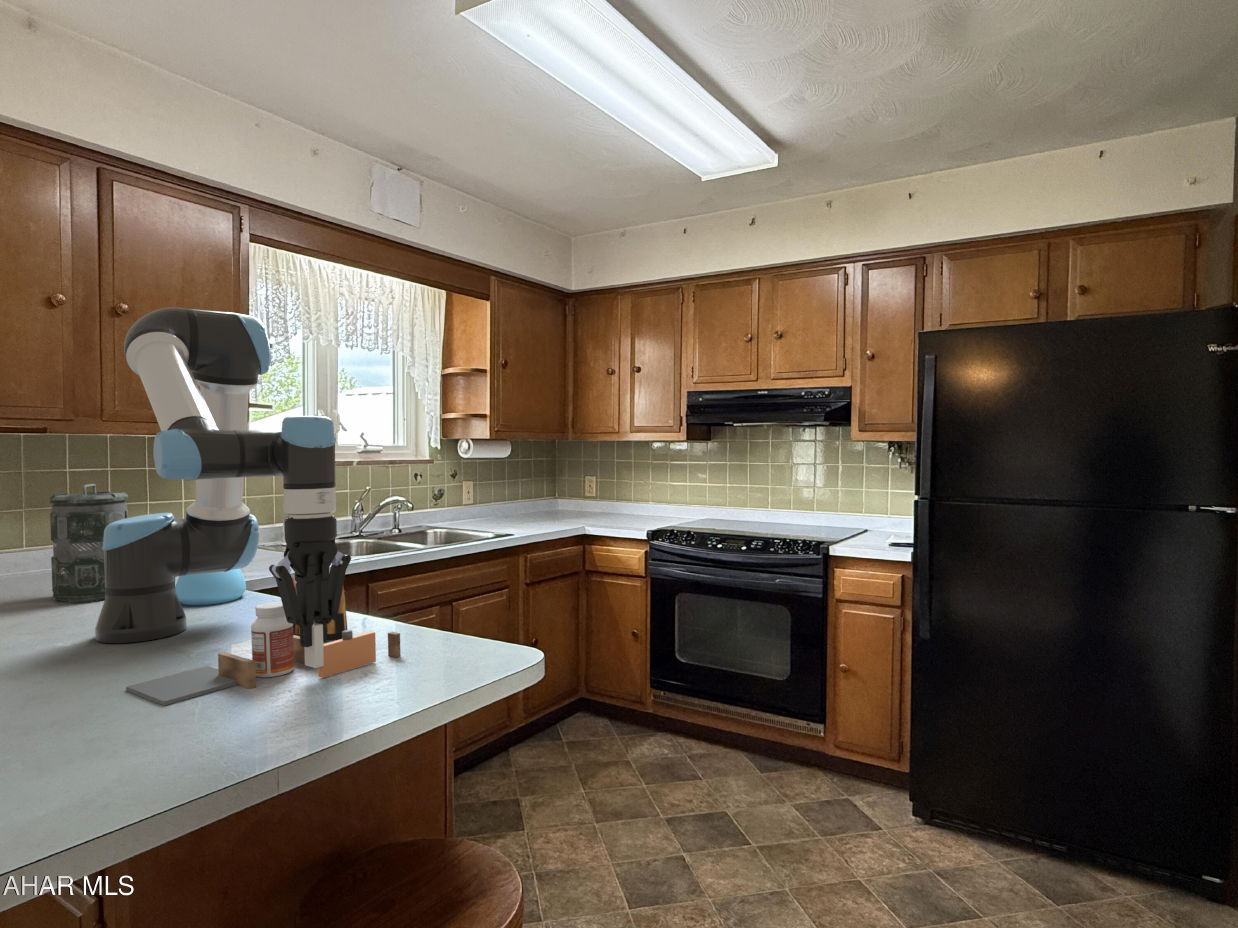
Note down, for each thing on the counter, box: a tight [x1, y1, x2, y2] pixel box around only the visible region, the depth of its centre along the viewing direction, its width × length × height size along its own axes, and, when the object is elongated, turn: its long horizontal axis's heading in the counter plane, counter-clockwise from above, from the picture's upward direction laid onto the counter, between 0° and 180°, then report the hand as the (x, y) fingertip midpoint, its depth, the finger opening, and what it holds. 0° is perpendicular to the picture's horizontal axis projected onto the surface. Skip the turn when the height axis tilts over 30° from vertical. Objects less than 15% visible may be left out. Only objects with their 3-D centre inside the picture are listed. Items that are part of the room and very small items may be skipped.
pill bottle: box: [250, 601, 295, 679], centre depth 118 cm, size 6×6×11 cm
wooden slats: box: [217, 631, 401, 689], centre depth 121 cm, size 15×24×4 cm, turn 146°
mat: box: [125, 665, 238, 706], centre depth 112 cm, size 12×12×1 cm
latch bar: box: [317, 629, 377, 679], centre depth 119 cm, size 2×10×6 cm, turn 146°
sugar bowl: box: [175, 568, 247, 606], centre depth 175 cm, size 15×15×12 cm
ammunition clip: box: [291, 576, 348, 641], centre depth 138 cm, size 11×2×12 cm, turn 93°
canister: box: [49, 483, 130, 604], centre depth 180 cm, size 16×16×28 cm
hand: (314, 665), depth 114 cm, fingers closed
